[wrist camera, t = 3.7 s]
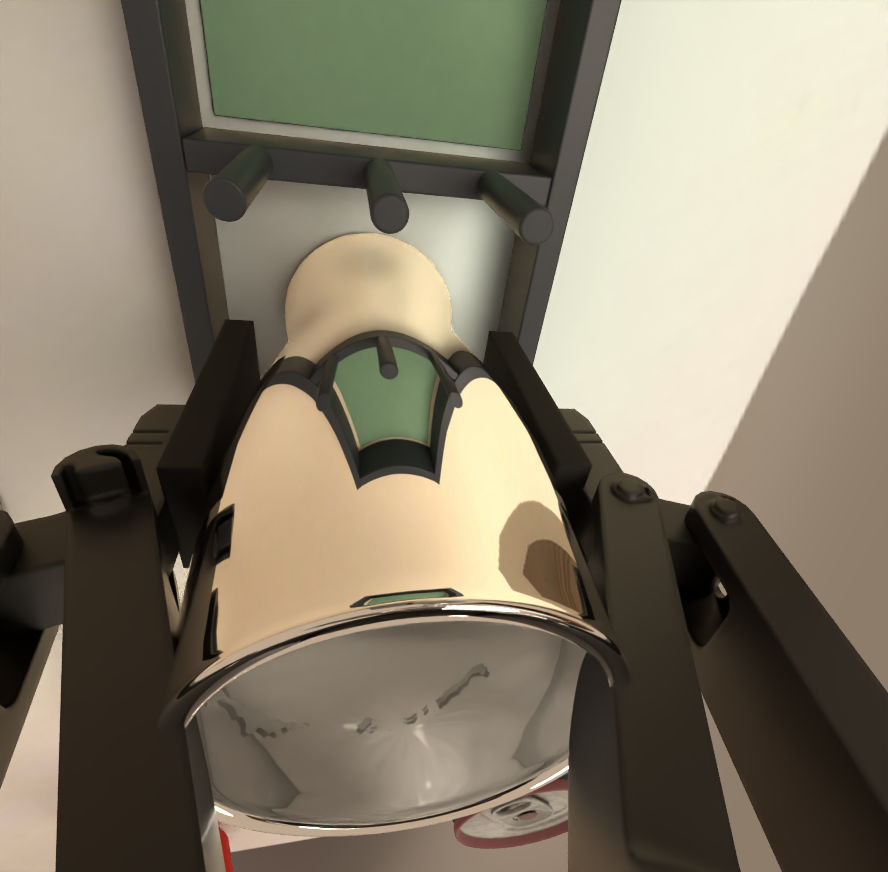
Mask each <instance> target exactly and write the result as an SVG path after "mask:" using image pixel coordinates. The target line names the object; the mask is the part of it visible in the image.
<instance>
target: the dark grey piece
mask: <svg viewBox="0 0 888 872" xmlns="http://www.w3.org/2000/svg"><path fill="white" fill-rule="evenodd" d="M121 4H122V9H123V14H124V19H125V24H126V29H127V35H128V40H129V45H130V50H131V55H132V60H133V65H134V71H135V76H136V81H137V86H138V91H139V96H140V101H141V106H142V112H143V117H144V122H145V127H146V132H147V137H148V142H149V148H150V153H151V158H152V163H153V168H154V173H155V178H156V183H157V189H158V194H159V199H160V204H161V209H162V214H163V219H164V225H165V230H166V235H167V240H168V245H169V250H170V255H171V261H172V266H173V271H174V276H175V281H176V286H177V291H178V296H179V302H180V307H181V312H182V317H183V322H184V327H185V332H186V338H187V343H188V348H189V353H190V358H191V363H192V368H193V373H194V379H195V384H196V381H197V379H198V377H199V375H200V373H201V371H202V369H203V366H204V364H205V362H206V360H207V358H208V356H209V354H210V351H211V349H212V347H213V345H214V343H215V341H216V338H217V336H218V334H219V332H220V330H221V328H222V326H223V323H224V321H225V320H229V316H228V309H227V301H226V294H225V287H224V280H223V273H222V265H221V258H220V251H219V244H218V237H217V229H216V222H215V217H216V218H218V219H220V220H222V221H227V222H232V221H236V220H238V219H240V218H241V217H242V216H243V215H244V213H245V212H246V210H247V209H248V207H249V206H250V204H251V203H252V201H253V200H254V198H255V197H256V195H257V194H258V192H259V191H260V189H261V188H262V186H263V185H264V183H265V182H266V180H277V181H287V182H298V183H308V184H319V185H330V186H340V187H351V188H361V189H367V195H368V202H369V209H370V215H371V220H372V222H373V224H374V226H375V227H376V228H377V229H378V230H380V231H381V232H383V233H387V234H394V233H397V232H399V231H401V230H402V229H403V228H404V227H405V226H406V224H407V222H408V219H409V209H408V206H407V203H406V201H405V198H404V196H403V194H402V192H403V193H414V194H424V195H435V196H446V197H456V198H467V199H477V200H484V201H485V202H486V203H487V204H488V205H489V206H490V207H491V208H492V209H493V210H494V211H495V212H496V213H497V214H498V215H499V216H500V217H501V218H502V220H503V221H504V222H505V223H506V224H507V225H508V226H509V227H510V228H511V229H512V230H513V231H514V232H515V233H516V237H515V242H514V247H513V252H512V258H511V263H510V268H509V273H508V279H507V284H506V289H505V295H504V300H503V305H502V310H501V316H500V321H499V326H498V331H497V332H513V334H514V336H515V337H516V339H517V341H518V342H519V344H520V346H521V347H522V349H523V351H524V352H525V354H526V356H527V357H528V359H529V360H530V362H531V364H532V365H533V362H534V358H535V354H536V349H537V345H538V341H539V337H540V333H541V329H542V325H543V321H544V317H545V312H546V308H547V304H548V300H549V296H550V292H551V288H552V284H553V280H554V275H555V271H556V267H557V263H558V259H559V255H560V251H561V247H562V243H563V238H564V234H565V230H566V226H567V222H568V218H569V214H570V210H571V206H572V201H573V197H574V193H575V189H576V185H577V181H578V177H579V173H580V169H581V164H582V160H583V156H584V152H585V148H586V144H587V140H588V136H589V132H590V127H591V123H592V119H593V115H594V111H595V107H596V103H597V99H598V95H599V90H600V86H601V82H602V78H603V74H604V70H605V66H606V62H607V58H608V53H609V49H610V45H611V41H612V37H613V33H614V29H615V25H616V21H617V16H618V12H619V8H620V4H621V0H560V5H559V10H558V15H557V21H556V26H555V31H554V36H553V42H552V47H551V52H550V57H549V63H548V68H547V73H546V78H545V84H544V89H543V94H542V100H541V105H540V110H539V115H538V121H537V126H536V131H535V136H534V142H533V147H532V152H531V158H530V163H529V164H528V163H521V162H512V161H503V160H494V159H485V158H476V157H467V156H458V155H449V154H440V153H431V152H422V151H413V150H404V149H395V148H386V147H377V146H368V145H359V144H350V143H341V142H332V141H323V140H314V139H305V138H296V137H287V136H278V135H269V134H260V133H251V132H241V131H232V130H223V129H214V128H203V129H202V121H201V114H200V107H199V100H198V93H197V85H196V78H195V71H194V64H193V57H192V49H191V42H190V35H189V28H188V21H187V13H186V6H185V0H121ZM200 4H201V12H202V20H203V27H204V35H205V43H206V51H207V59H208V67H209V75H210V83H211V91H212V99H213V107H214V114H215V115H219V116H228V117H236V118H245V119H254V120H262V121H271V122H279V123H288V124H297V125H305V126H314V127H323V128H331V129H340V130H349V131H357V132H366V133H375V134H383V135H392V136H400V137H409V138H418V139H426V140H435V141H444V142H452V143H461V144H470V145H478V146H487V147H496V148H504V149H513V150H521V146H522V140H523V135H524V129H525V123H526V118H527V112H528V107H529V101H530V95H531V90H532V84H533V79H534V73H535V67H536V62H537V56H538V51H539V45H540V39H541V34H542V28H543V23H544V17H545V11H546V6H547V0H200ZM209 174H213V175H215V176H214V177H213V178H212V179H209Z"/></svg>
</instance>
